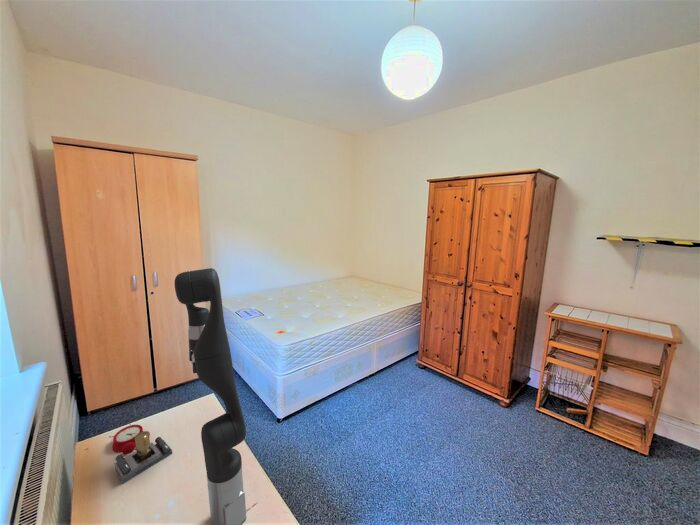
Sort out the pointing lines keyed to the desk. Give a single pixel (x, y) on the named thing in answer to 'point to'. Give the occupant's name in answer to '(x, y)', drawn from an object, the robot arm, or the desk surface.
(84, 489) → the desk surface
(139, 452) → the bronze pin
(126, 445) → the alarm clock
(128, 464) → the grey roller frame base
